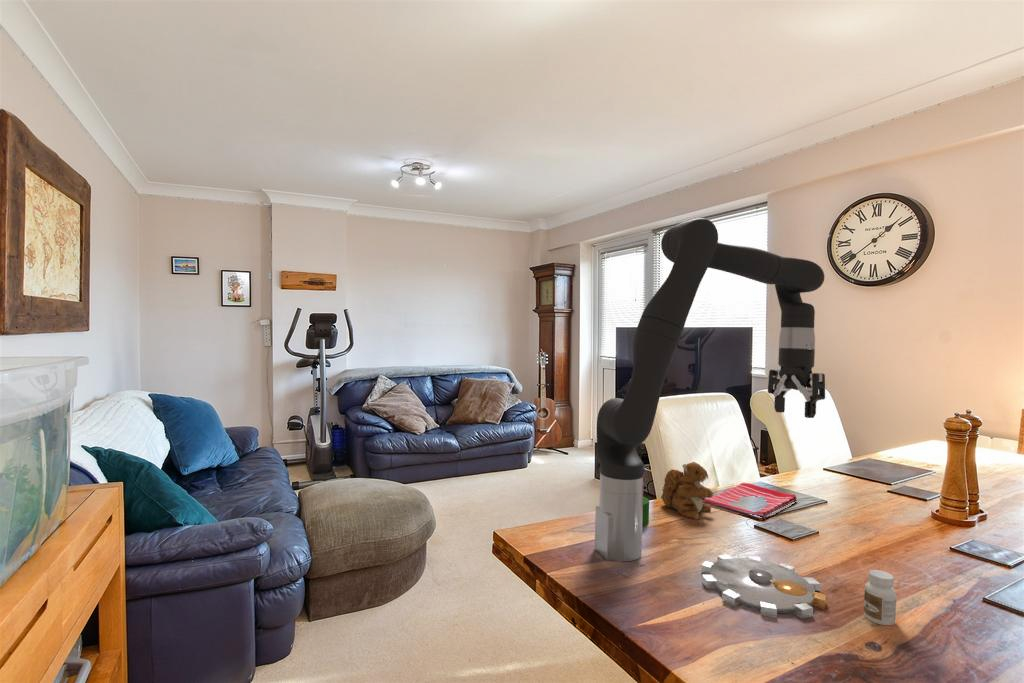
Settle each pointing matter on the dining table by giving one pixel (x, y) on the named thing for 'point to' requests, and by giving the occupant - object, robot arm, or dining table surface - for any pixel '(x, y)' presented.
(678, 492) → the stuffed squirrel
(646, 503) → the candle
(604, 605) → the dining table surface
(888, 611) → the pill bottle
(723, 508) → the dish towel
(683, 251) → the robot arm
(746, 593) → the sprocket plate
